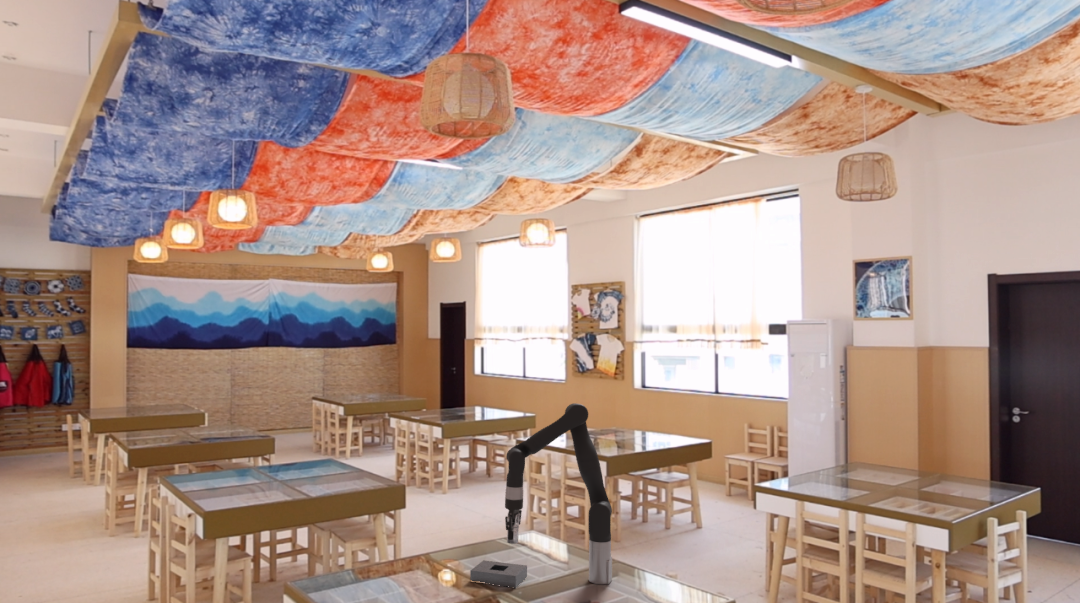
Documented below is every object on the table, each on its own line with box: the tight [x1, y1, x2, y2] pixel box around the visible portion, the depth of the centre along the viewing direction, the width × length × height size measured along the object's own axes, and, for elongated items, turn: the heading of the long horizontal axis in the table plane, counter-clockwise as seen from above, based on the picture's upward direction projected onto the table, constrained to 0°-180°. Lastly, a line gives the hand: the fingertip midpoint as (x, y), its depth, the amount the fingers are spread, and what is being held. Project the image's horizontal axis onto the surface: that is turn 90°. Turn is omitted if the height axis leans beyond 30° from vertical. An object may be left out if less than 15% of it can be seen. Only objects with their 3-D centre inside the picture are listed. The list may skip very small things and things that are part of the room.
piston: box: [506, 522, 520, 545], centre depth 312 cm, size 5×5×8 cm
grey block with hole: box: [469, 560, 528, 589], centre depth 313 cm, size 20×14×5 cm
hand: (512, 537), depth 312 cm, fingers closed on piston, 4 cm apart
